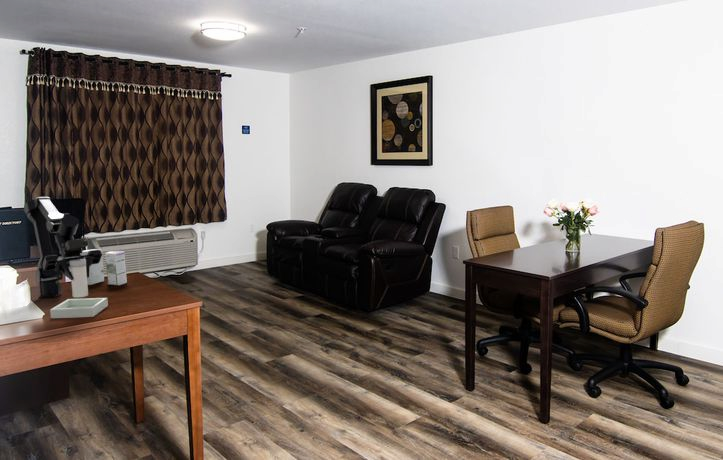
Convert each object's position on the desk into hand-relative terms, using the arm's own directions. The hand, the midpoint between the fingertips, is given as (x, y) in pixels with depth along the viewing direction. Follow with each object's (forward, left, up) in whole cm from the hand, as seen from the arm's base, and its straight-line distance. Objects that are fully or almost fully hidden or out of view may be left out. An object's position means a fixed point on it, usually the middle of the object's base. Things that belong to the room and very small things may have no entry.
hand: (80, 278), depth 187 cm
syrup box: (-3, +45, -13) cm, 47 cm away
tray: (-1, +1, -12) cm, 13 cm away
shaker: (-1, +1, -7) cm, 7 cm away
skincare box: (-15, +49, -13) cm, 53 cm away
